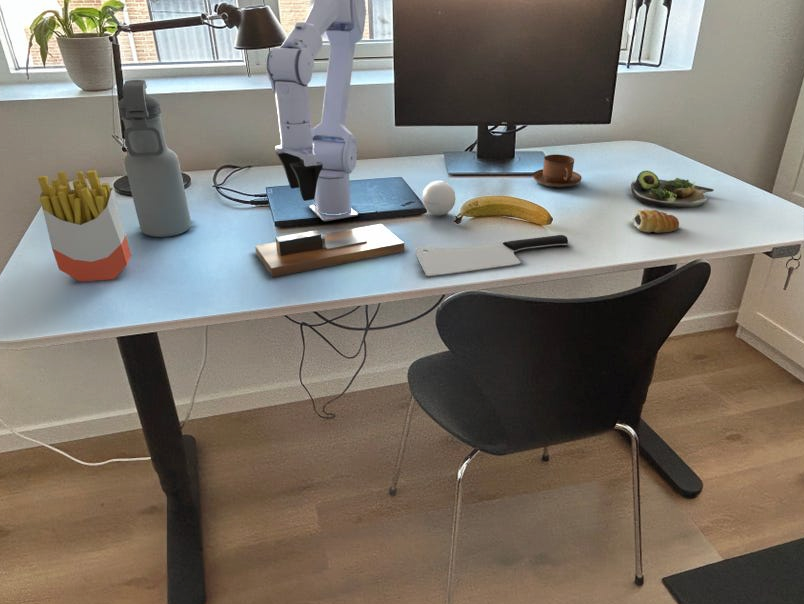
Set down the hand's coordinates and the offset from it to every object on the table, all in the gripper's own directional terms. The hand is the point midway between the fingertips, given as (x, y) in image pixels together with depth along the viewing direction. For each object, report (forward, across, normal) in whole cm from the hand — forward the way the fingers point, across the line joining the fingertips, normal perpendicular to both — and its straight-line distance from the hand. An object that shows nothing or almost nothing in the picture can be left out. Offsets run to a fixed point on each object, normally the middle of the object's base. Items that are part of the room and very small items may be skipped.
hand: (302, 193), depth 127 cm
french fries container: (+10, 0, -38) cm, 39 cm away
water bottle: (+10, -17, -24) cm, 31 cm away
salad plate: (+10, +12, +85) cm, 86 cm away
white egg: (+10, -1, +29) cm, 31 cm away
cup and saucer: (+10, -7, +67) cm, 68 cm away
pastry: (+10, +26, +68) cm, 73 cm away
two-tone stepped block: (+8, +9, 0) cm, 12 cm away
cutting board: (+9, +8, +2) cm, 13 cm away
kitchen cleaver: (+10, +24, +30) cm, 40 cm away
